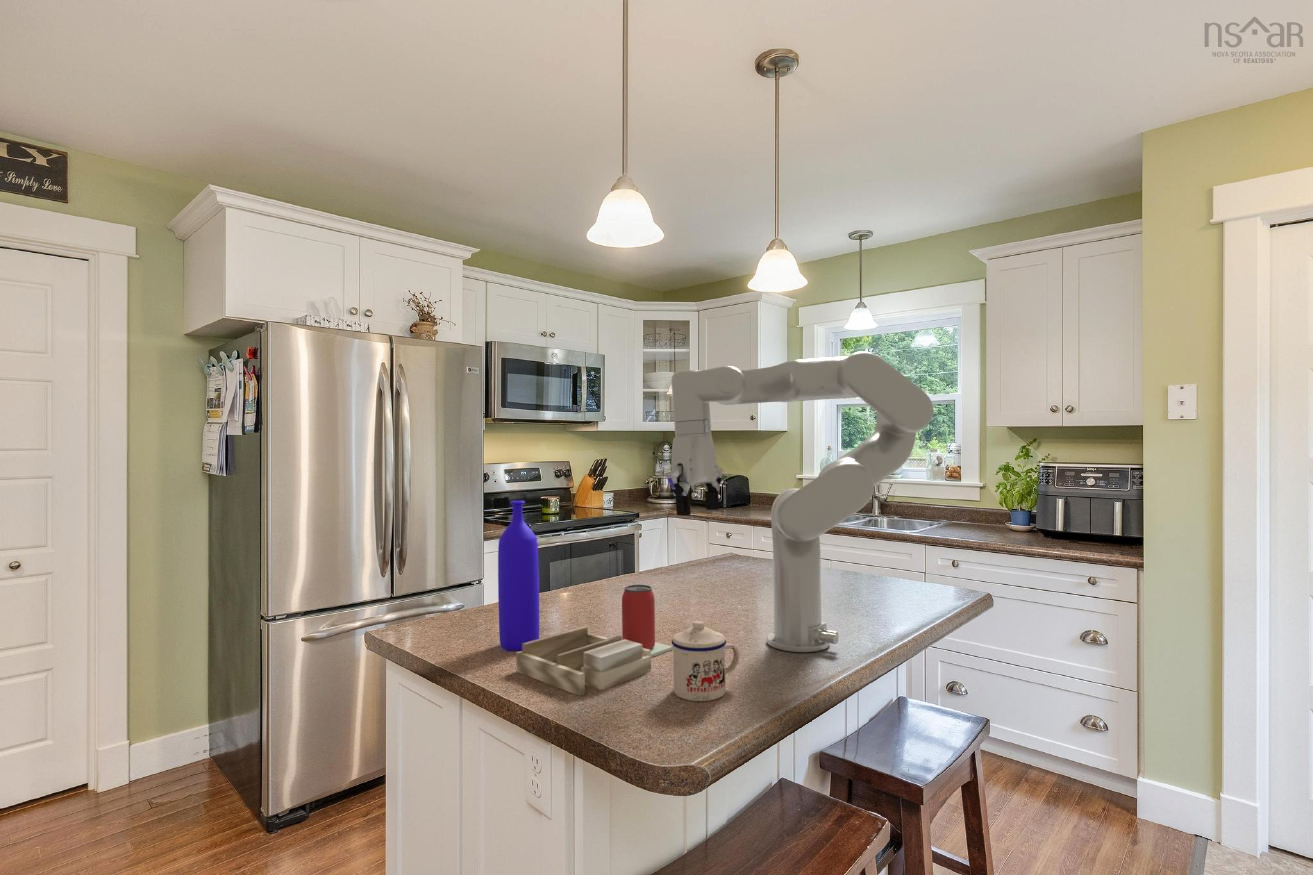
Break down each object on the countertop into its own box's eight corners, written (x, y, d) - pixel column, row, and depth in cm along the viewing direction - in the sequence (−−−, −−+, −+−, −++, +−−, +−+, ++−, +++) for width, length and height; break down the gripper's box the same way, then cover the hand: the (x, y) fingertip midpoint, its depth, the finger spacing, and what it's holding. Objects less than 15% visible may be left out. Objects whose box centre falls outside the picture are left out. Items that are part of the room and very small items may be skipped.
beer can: (651, 653, 129) (651, 591, 129) (618, 651, 130) (618, 590, 131) (658, 643, 136) (657, 584, 136) (626, 641, 137) (625, 583, 137)
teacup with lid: (686, 706, 105) (685, 632, 105) (664, 687, 113) (662, 618, 113) (752, 694, 109) (751, 623, 109) (726, 676, 118) (725, 610, 118)
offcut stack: (650, 672, 121) (649, 642, 121) (600, 691, 112) (600, 659, 112) (630, 666, 124) (630, 637, 124) (581, 684, 116) (581, 652, 116)
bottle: (547, 642, 140) (545, 499, 140) (524, 654, 132) (521, 503, 132) (515, 638, 143) (513, 498, 143) (490, 649, 135) (488, 502, 136)
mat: (672, 649, 133) (672, 646, 133) (637, 662, 126) (637, 659, 126) (637, 640, 140) (637, 637, 140) (602, 651, 133) (602, 648, 133)
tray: (651, 668, 122) (650, 641, 122) (580, 695, 110) (579, 665, 110) (586, 649, 134) (586, 624, 134) (516, 671, 122) (516, 644, 122)
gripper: (703, 430, 147) (709, 507, 147) (651, 432, 134) (657, 517, 134) (731, 427, 142) (737, 507, 142) (680, 430, 129) (686, 518, 129)
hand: (698, 512), depth 138 cm, fingers open, 9 cm apart
